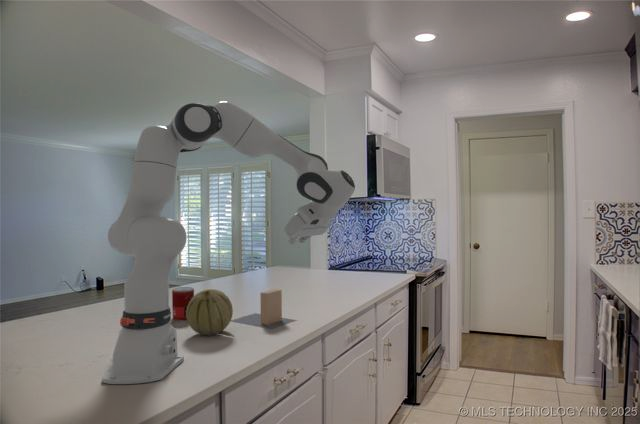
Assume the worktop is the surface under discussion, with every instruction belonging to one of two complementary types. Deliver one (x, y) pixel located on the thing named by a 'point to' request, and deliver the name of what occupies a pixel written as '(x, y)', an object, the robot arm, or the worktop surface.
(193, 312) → the cantaloupe
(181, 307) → the canned food
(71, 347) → the worktop surface
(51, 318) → the worktop surface
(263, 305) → the block
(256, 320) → the mat
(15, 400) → the worktop surface
